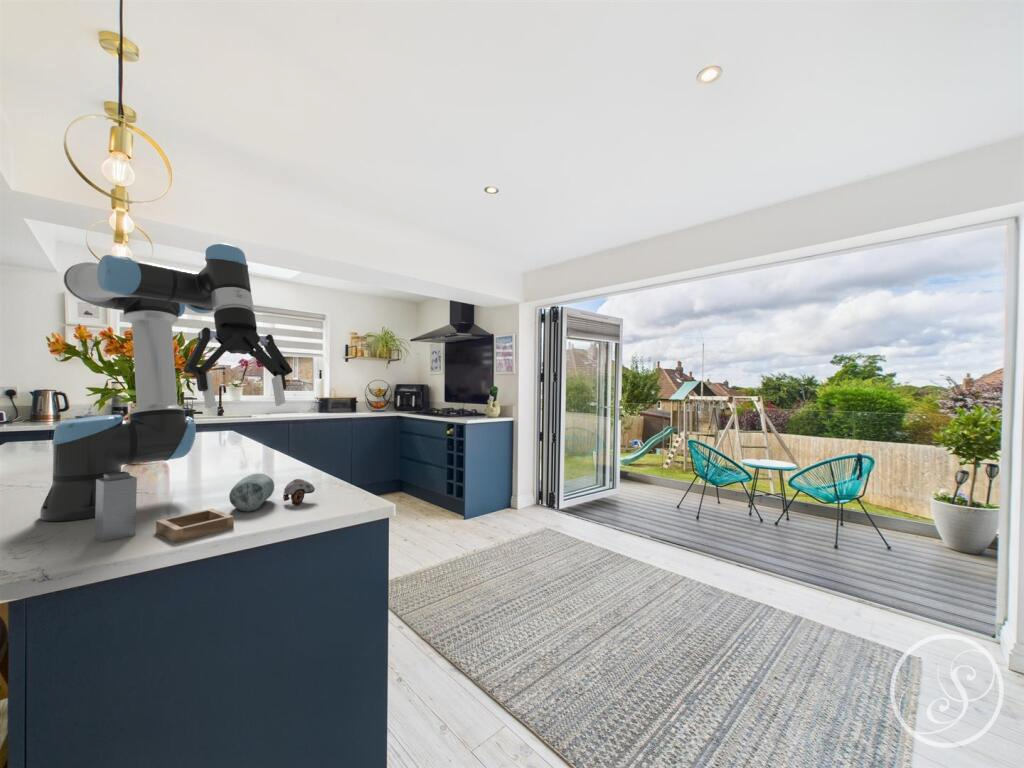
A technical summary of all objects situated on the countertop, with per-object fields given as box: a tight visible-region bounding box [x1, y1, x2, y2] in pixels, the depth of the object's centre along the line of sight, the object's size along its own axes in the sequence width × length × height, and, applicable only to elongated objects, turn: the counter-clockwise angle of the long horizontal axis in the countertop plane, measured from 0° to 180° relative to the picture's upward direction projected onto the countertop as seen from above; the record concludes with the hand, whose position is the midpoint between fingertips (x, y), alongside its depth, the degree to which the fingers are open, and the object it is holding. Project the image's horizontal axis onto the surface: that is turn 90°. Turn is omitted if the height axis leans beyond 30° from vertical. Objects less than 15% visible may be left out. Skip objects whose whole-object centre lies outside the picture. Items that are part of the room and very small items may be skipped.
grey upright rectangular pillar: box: [94, 470, 138, 543], centre depth 84 cm, size 5×5×13 cm
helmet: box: [282, 478, 316, 506], centre depth 109 cm, size 6×8×7 cm
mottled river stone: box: [228, 473, 275, 512], centre depth 106 cm, size 14×10×10 cm
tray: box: [155, 508, 235, 543], centre depth 88 cm, size 10×10×2 cm
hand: (248, 405), depth 85 cm, fingers open, 13 cm apart
